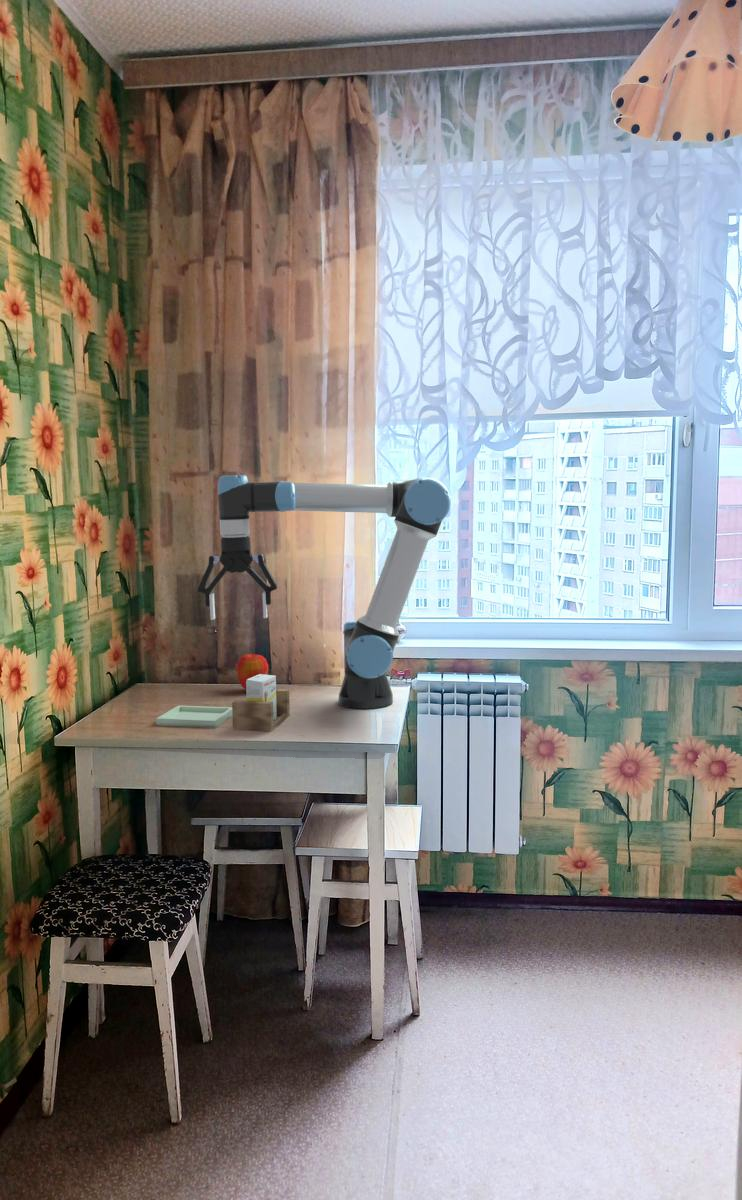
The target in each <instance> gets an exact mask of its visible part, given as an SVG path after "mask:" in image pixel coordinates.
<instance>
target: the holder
mask: <svg viewBox="0 0 742 1200" xmlns="http://www.w3.org/2000/svg"><path fill="white" fill-rule="evenodd" d="M290 704H291V702H290V689H283V688H281V689H280V688H276V710H277V719H276V720H273V702H264V701H247V700H237V699H236V700H233V701H232V702H231V708H232V714H233V716H232V731H255V732H272V731H273V730H275V729H276V728H277V727H278V726H279V725H281V723H283V722H284V721H285V720H286V719H288V718H289V717H290V716H291V715H290V713H291V710H290V709H291V708H290V707H291V706H290Z"/></svg>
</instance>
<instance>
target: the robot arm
mask: <svg viewBox="0 0 742 1200" xmlns="http://www.w3.org/2000/svg"><path fill="white" fill-rule="evenodd" d="M217 487H218V488H217V491H218V492H217V498H218V499H217V500H218V512H219V513H218V514H219V534H220V536H222V537H221V538H220V553H221V554H220V556H216V555H213V554H212V555H210V556H209V557H208V564H207V567H206V569H205V571H204V574H203V576H202V579H201V581H200V584H199V585H198V588H197V592H199V593H202V594H204V596H205V597H204V598H205V606H206V607H207V608H208V607H209V610H210V615H209V616H210V617H209V618H210V621H214V620H215V619H216V607H215V606H216V605H215V604H216V603H215V593H212V591H213V590H214V589H215V587H216V586H217V585H218V584H219V582H220V581H221V580H222V578H223V577H224V576H225V575H226V573H231V574H234V573H245V572H246V573H248V574H249V576H251V578H252V579H253V580H254V581H255V582H256V583H257V585H259V586H260V587H261V589H262V590H264V591H263V592H262V614H263V616H262V617H263V619H268V616H269V615H268V606H269V605H271V604H272V594H271V593H272V592H273V591H276V590H277V589H278V584H277V582H276V580H275V579H274V577H273V575H272V573H271V572H270V570H269V568H268V565H266V562H265V558H264V554H263V553H260V554H255V555H253V554H252V548H251V547H252V546H251V537H250V536H249V535H250V534H251V530H250V526H251V525H250V513H259V512H262V513H266V512H267V513H268V512H269V513H271V512H281V513H283V512H290V511H295V512H297V511H299V512H329V513H332V512H334V513H335V512H336V513H369V514H370V513H371V514H373V513H374V514H375V513H376V514H377V513H378V514H386V515H387V516H388V517H391V518H394V521H393V522H394V524H395V526H396V531H395V535H394V537H393V540H392V543H391V545H390V548H389V550H388V553H387V556H386V558H385V561H384V565H383V567H382V569H381V573H380V575H379V576H378V581H377V583H376V586H375V589H374V591H373V594H372V596H371V599H370V602H369V604H368V607H367V610H366V613H365V614H364V615H363V616H360V617H359V618H357V620H356V621H346V622H345V623H344V625H343V631H342V635H343V651H344V653H343V655H344V656H343V658H344V659H343V660H344V661H343V662H344V675H343V676H344V677H343V680H342V683H341V687H340V689H339V692H338V704H339V705H340V706H342V707H346V708H352V709H378V708H385V707H388V706H391V705H392V704H393V702H394V701H393V700H394V697H393V691H392V688H391V685H390V683H389V679H388V676H387V672H388V671H389V669H390V667H391V665H392V664H393V658H394V650H395V647H396V644H397V641H398V639H399V637H400V632H399V630H398V627H397V626H398V622H399V620H400V617H401V615H402V612H403V609H404V607H405V605H406V601H407V598H408V596H409V594H410V591H411V589H412V588H411V587H413V586H412V585H413V583H414V580H415V576H416V574H417V571H418V570H419V568H420V567H419V566H420V564H421V561H422V558H423V556H424V553H425V550H426V548H427V545H428V544H429V543H428V542H429V541H430V540H431V539H434V538H436V537H437V535H438V533H439V529H440V527H441V524H442V522H443V520H444V519H445V517H447V515H448V514H449V511H450V507H451V495H450V492H449V491H448V488H447V487H446V486H445V485H444V483H442V482H441V481H440V480H437V479H436V478H432V477H428V476H427V477H426V476H425V477H419V478H414V479H410V480H403V481H402V480H401V481H400V480H399V481H398V480H397V481H389V482H388V483H387V484H365V483H364V484H361V483H359V484H358V483H355V484H354V483H323V482H322V483H321V482H318V483H316V482H314V483H313V482H312V483H311V482H293V481H284V480H281V481H265V482H264V481H263V482H251V481H249V480H248V476H247V475H246V474H243V475H242V474H237V475H236V474H234V475H231V474H230V475H221V476H220V477H219V478H218V481H217ZM253 561H255V563H256V564H258V565H259V567H260V569H261V571H262V572H263V574H264V576H265V578H266V580H267V582H268V584H269V585H270V586H269V585H268V584H267V582H266V581H265V580H264V579H263V578H262V577H261V576H260V575H259V574H258V573H257V572H256V570H255V569H254V568H253V567H252V566H251V564H252V562H253ZM218 562H220V564H221V565H222V566H223V567H222V568H221V570H220V571H219V573H217V575H216V576H215V578H214V579H213V580H212V582H211V583H210V584H208V587H206V585H207V583H208V581H209V579H210V577H211V575H212V572H213V569H214V567H215V565H217V564H218Z"/></svg>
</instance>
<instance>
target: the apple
mask: <svg viewBox="0 0 742 1200" xmlns="http://www.w3.org/2000/svg"><path fill="white" fill-rule="evenodd" d="M236 673H237V677H238V680H239V683H240V686H241V687H242V688H243V689H244V690H246V681H247V679H249V678H252V677H254V676H256V675H259V674H265V675H269V664H268V661H267V658H265V657H264V656H263V655H260V654H256V653H255V654H254V653H253V652H251V653H247V654H244V655H241V657H240V658H239V659H238V662H237V665H236Z"/></svg>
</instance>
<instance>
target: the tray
mask: <svg viewBox="0 0 742 1200" xmlns="http://www.w3.org/2000/svg"><path fill="white" fill-rule="evenodd" d="M230 718H233V714H232V706H231V707H228V706H201V705H199V706H197V705H177V706H175V707H173V708H172V709H169V710H168V711H167V712H165V713H163V714H162V715H159V716H158V717H156V718H155V720H156V721H155V722H156V723H155V724H156V726H166V727H186V728H187V727H188V728H190V727H191V728H209V729H211V728H212V729H213V728H214V729H216V728H217V727H219V726H221V724H222V725H223V723H224V722H226V721H227V720H229V719H230Z"/></svg>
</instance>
